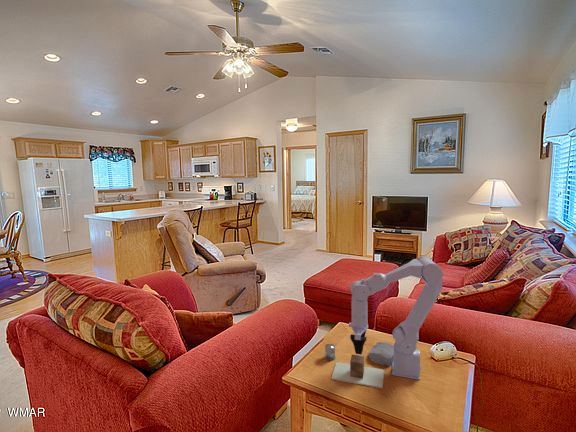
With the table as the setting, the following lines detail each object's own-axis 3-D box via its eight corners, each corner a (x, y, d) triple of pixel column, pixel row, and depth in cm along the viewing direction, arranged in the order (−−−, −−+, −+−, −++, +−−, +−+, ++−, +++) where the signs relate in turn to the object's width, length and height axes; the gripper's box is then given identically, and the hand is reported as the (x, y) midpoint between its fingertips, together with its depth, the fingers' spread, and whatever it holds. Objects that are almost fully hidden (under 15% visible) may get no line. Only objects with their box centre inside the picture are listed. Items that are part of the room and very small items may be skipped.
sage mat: (383, 370, 120) (383, 369, 120) (382, 388, 111) (382, 387, 111) (336, 363, 126) (336, 361, 126) (331, 379, 117) (331, 378, 117)
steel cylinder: (336, 355, 131) (335, 344, 130) (334, 361, 127) (334, 349, 127) (326, 354, 132) (326, 343, 132) (324, 359, 129) (324, 348, 128)
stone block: (367, 364, 128) (392, 368, 122) (365, 352, 128) (389, 355, 122) (378, 351, 137) (401, 353, 131) (376, 340, 137) (399, 342, 131)
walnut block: (364, 371, 120) (364, 356, 119) (362, 378, 116) (362, 363, 115) (351, 369, 121) (351, 354, 120) (350, 376, 117) (350, 361, 116)
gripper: (350, 304, 126) (351, 336, 128) (345, 321, 112) (346, 357, 114) (369, 306, 123) (369, 338, 125) (366, 324, 110) (366, 360, 112)
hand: (359, 347), depth 120 cm, fingers open, 7 cm apart
